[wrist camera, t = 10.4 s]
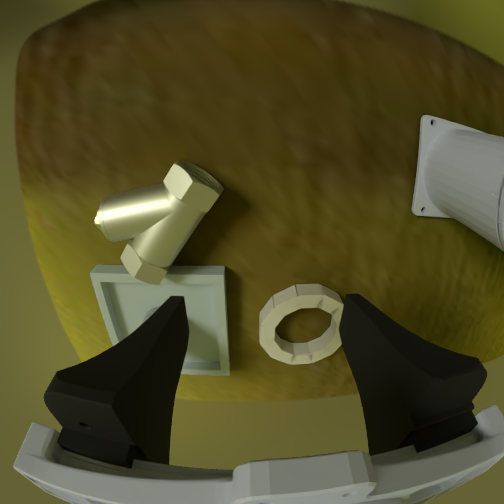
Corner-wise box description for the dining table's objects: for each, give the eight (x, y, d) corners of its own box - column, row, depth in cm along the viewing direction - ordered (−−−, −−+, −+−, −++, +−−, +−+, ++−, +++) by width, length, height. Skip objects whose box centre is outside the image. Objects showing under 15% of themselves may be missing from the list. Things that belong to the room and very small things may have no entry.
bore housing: (351, 282, 23) (357, 293, 22) (336, 349, 26) (340, 360, 25) (260, 284, 23) (260, 295, 21) (258, 353, 26) (259, 365, 25)
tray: (224, 265, 22) (223, 274, 21) (230, 365, 27) (229, 375, 26) (96, 264, 22) (89, 272, 21) (125, 358, 27) (121, 367, 25)
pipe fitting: (103, 220, 21) (169, 268, 22) (77, 237, 17) (153, 293, 19) (150, 132, 18) (227, 185, 20) (126, 133, 15) (218, 196, 16)
